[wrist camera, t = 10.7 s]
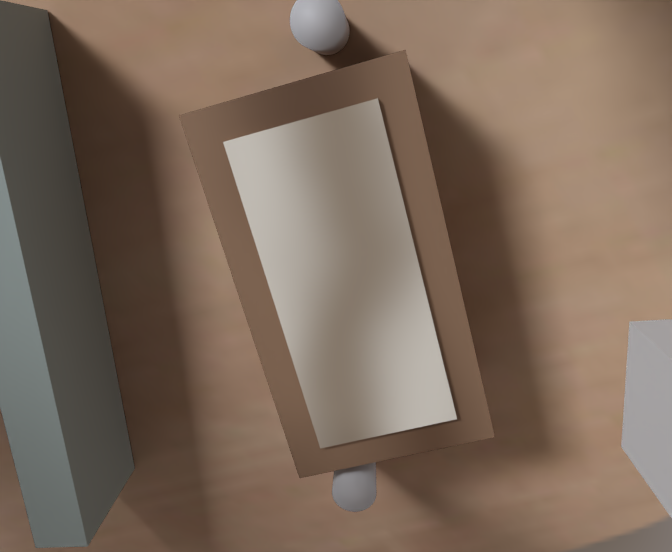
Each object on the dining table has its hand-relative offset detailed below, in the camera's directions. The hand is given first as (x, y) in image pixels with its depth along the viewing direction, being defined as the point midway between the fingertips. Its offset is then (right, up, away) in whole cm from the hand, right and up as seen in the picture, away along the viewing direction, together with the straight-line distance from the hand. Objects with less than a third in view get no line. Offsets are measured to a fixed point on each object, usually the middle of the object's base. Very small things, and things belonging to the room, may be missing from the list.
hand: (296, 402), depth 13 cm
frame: (+1, +4, +13) cm, 13 cm away
